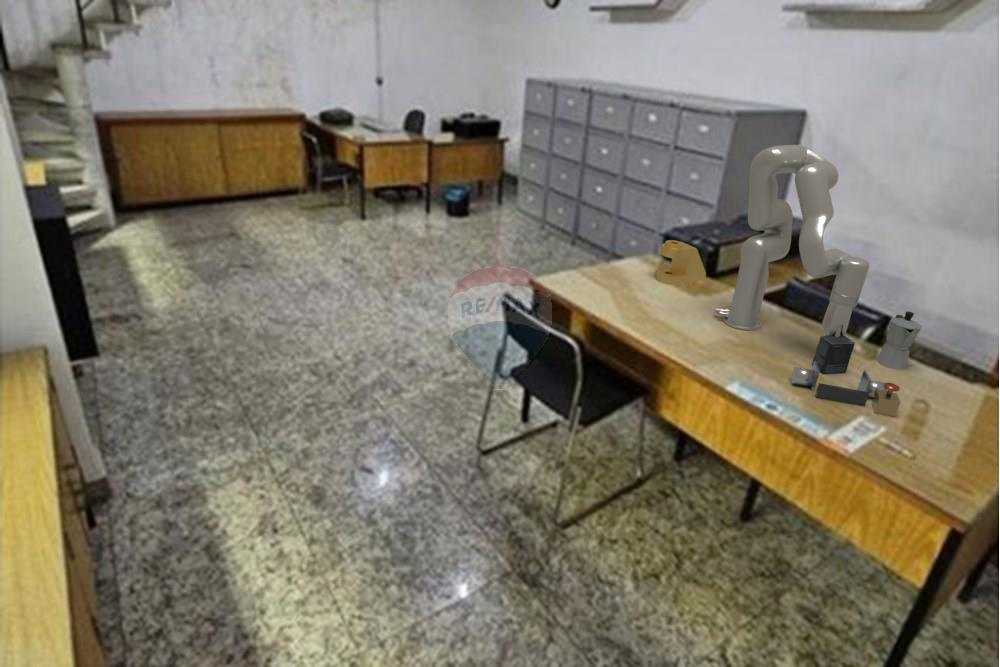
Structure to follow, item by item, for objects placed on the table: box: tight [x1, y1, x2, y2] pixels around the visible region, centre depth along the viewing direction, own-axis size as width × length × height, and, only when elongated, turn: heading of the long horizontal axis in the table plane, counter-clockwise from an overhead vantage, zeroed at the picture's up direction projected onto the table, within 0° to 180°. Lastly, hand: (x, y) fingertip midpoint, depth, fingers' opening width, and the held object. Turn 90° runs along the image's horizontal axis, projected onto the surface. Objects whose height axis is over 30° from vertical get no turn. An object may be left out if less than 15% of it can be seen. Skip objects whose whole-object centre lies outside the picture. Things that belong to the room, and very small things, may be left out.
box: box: [811, 335, 856, 375], centre depth 190 cm, size 8×6×11 cm
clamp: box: [655, 239, 707, 285], centre depth 255 cm, size 20×9×16 cm, turn 115°
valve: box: [870, 382, 902, 418], centre depth 171 cm, size 5×5×8 cm
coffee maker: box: [875, 311, 923, 371], centre depth 195 cm, size 15×9×18 cm, turn 163°
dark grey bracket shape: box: [790, 361, 888, 407], centre depth 178 cm, size 24×10×6 cm, turn 73°
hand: (827, 352), depth 197 cm, fingers closed
